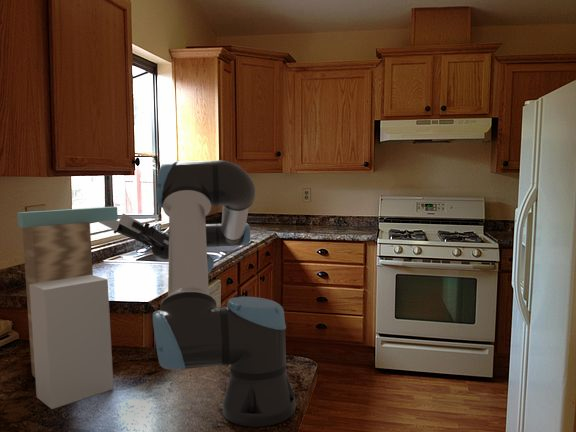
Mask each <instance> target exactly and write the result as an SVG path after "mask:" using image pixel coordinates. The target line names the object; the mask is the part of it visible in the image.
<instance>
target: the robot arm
mask: <svg viewBox="0 0 576 432" xmlns="http://www.w3.org/2000/svg"><path fill="white" fill-rule="evenodd" d="M255 186H256V185H255V184H254V181H253V179H252V177H251V176H250V175H249V174H248V172H247V171H246V170H245V169H243V168H242V167H241V166H239V165H237V164H236V163H234V162H231V161H227V160H222V159H220V160H219V159H218V160H176V161H175V160H174V161H166V162H164V163H163V164H161V165H160V167H159V170H158V175H157V186H156V200H157V201H156V202H157V205H158V207H159V208H160V209H161V208H162V210H163V212H164V213H165V215H166V216H167V217H168V232H167V231H166V232H162V233H161V232H160V231H158V229H156V228H155V227H153V226H150V224H151V223H148V222H145V223H142V222H140V221H138V220H136V219H135V218H133V217H131V216H129V215H127V214H125V213H122V214H121V215H120V218H119V220H110V221H98V223H99V224H101V225H103V226H105V227H107V228H110V229H111V230H113V234H117V233H118V234H120V235H123V236H125V237H127V238H129V239H132V240H134V241H136V242H139V243H141V244H142V245H145V246H147V247H152V248H151V253H152V254H153V255H154V256H156V257H158V258H159V259H161V260H164V261H166V262H168V269H167V270H168V272H167V274H168V279H167V280H168V283H167V286H168V288H167V296H166V297H164V298H163V299H162V300H161V303H160V310H156V311H154V312H152V326H153V333H154V339H155V341H154V342H155V348H156V352H157V353H156V354H157V359H158V364H159V366H160V367H161V368H162V369H165V370H182V371H184V370H188V369H196V368H206V367H207V368H209V367H218V366H229V370H230V374H229V379H228V382H227V385H226V390H225V393H224V397H223V399H222V414H223V416H224V417H225V419H226V420H227V421H229V422H231V423H233V424H236V425H238V426H243V427H259V428H260V427H261V428H262V427H270V426H273V425H277V424H280V423H283V422H285V421H286V420H288V419H290V418H291V417H293V415H294V414H295V412H296V405H297V404H296V396H295V393H294V390H293V388H292V385H291V381H290V379H289V376H288V374H287V361H286V360H287V353H286V349H287V348H286V329H287V325H286V320H285V319H286V318H285V310H284V308H283V306H282V305H281V304H280V303H278V302H276V301H274V300H271V299H268V298H263V297H257V296H237V297H232V298H229V300H228V301H227V304H226V306H217V300H216V299H215V297H214V296H213V295H211V294H210V291H209V275H210V273H211V272H212V270H213V269H214V264H215V260H214V258H213V257H212V256H211V255H210V254H208V248H211V247H212V248H215V247H240V246H241V247H242V246H248V245H249V244H250V243H251V227H250V224H249V223H248V222H247V220H248V214H249V209H250V207H251V206H252V205H253V203H254V201H255V197H256V187H255ZM218 206H222V207H221V208H222V212H221V213H222V214H221V223H206V216H208V214H209V213H211V209H212V207H218Z"/></svg>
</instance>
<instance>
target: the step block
mask: <svg viewBox="0 0 576 432" xmlns="http://www.w3.org/2000/svg"><path fill="white" fill-rule="evenodd" d="M108 281H109V280H108V279H107V278H104V277H100V276H97V275H86V276H79V277H73V278H67V279H60V280H54V281H47V282H41V283H35V284H29V287H30V302H31V317H32V333H33V348H34V363H35V377H34V378H35V391H36V398H37V399H38V400H40V401H41V402H42V403H43V404H45V405H46V407H49V408H50V409H51V410H53V409H56V408H57V409H58V408H60V407H62V406H66V405H69V404H72V403H75V402H78V401H80V400H81V401H82V400H85V399H87V398H91V397H93V396H96V395H99V394H103V393H106V392H108V391H112V390H114V372H113V371H114V370H113V356H112V355H113V353H112V337H111V336H112V335H111V318H110V316H111V315H110V301H109V298H110V297H109V282H108Z"/></svg>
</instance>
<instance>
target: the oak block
mask: <svg viewBox="0 0 576 432" xmlns="http://www.w3.org/2000/svg"><path fill="white" fill-rule="evenodd" d="M21 228H22V227H21ZM22 239H23V240H22V242H23V257H24V259H23V260H24V273H25V287H26V289H25V290H26V303H27V317H28V318H27V319H28V335H29V348H30V364H31V366H30V367H31V375H32V376H33V377H34V378H35V363H34V348H33V333H32V317H31V302H30V287H29V284H35V283H41V282H47V281H54V280H60V279H67V278H73V277H79V276H86V275H93V273H94V272H93V259H92V258H93V255H92V237H91V222H86V223H73V224H61V225H49V226H37V227H25V228H22Z"/></svg>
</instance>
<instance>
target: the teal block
mask: <svg viewBox="0 0 576 432" xmlns="http://www.w3.org/2000/svg"><path fill="white" fill-rule="evenodd" d="M16 215H17V227H18V228H25V227H37V226H49V225H61V224H73V223H86V222H88V223H95V222H98V221H110V220H117V221H119V220H118V219H119V218H118V207H117V206H100V207H85V208H71V209H55V210H54V209H53V210H36V211H35V210H34V211H22V212H21V211H20V212H16ZM98 223H99V222H98Z"/></svg>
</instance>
